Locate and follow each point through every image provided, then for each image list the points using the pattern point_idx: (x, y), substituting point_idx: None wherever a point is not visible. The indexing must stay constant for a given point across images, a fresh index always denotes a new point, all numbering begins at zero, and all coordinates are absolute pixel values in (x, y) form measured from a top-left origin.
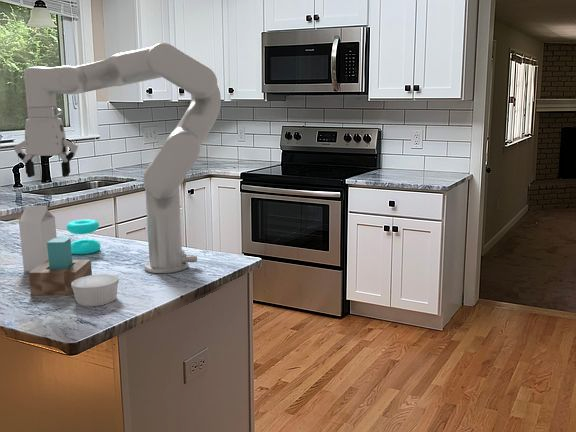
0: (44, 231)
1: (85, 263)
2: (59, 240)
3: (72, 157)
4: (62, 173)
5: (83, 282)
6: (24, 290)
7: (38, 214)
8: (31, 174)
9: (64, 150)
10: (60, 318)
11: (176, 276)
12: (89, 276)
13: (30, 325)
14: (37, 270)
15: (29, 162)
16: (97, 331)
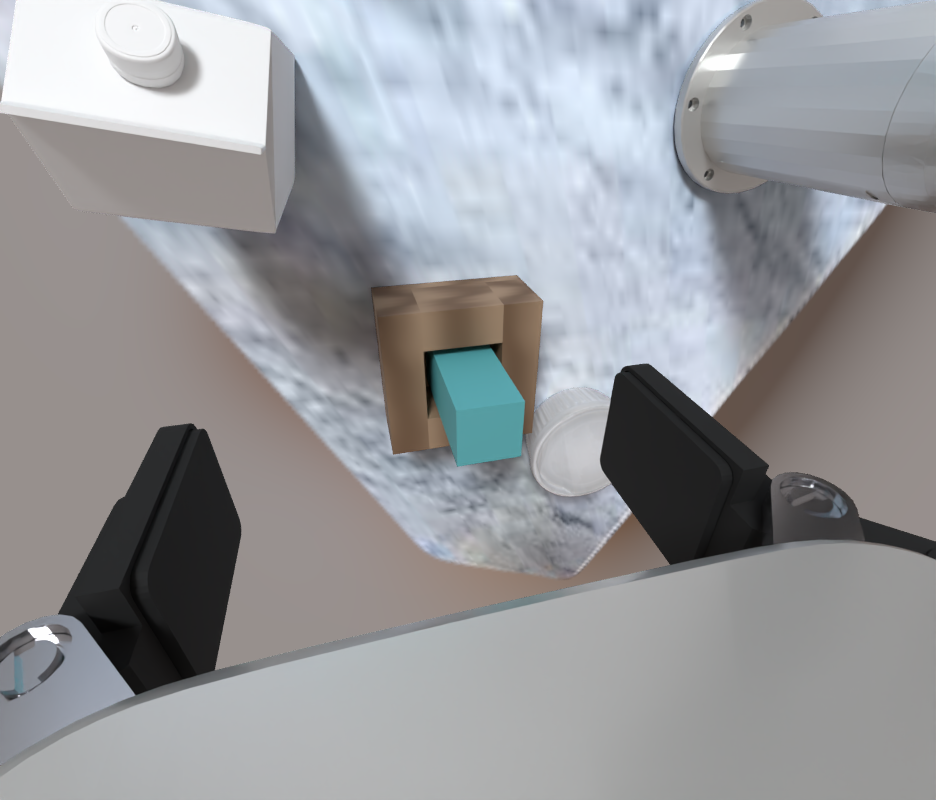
0: (281, 190)
1: (537, 348)
2: (494, 437)
3: (885, 539)
4: (616, 486)
5: (559, 457)
6: (341, 381)
7: (212, 181)
8: (227, 517)
9: (924, 574)
10: (520, 515)
11: (760, 217)
12: (567, 426)
13: (477, 548)
14: (409, 433)
15: (176, 680)
16: (598, 543)
